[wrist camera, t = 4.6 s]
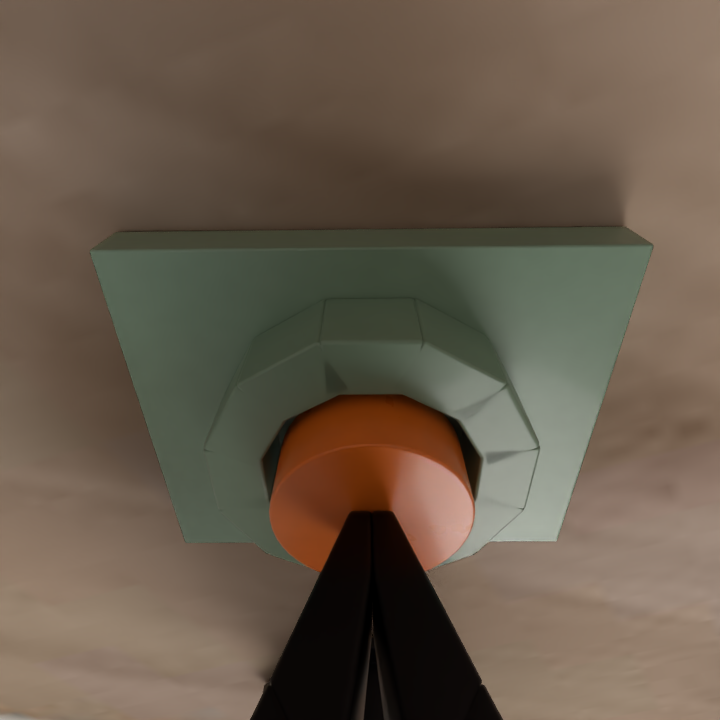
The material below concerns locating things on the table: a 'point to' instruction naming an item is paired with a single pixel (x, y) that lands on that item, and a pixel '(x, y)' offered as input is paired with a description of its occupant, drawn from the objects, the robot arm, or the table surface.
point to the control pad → (371, 354)
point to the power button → (371, 476)
